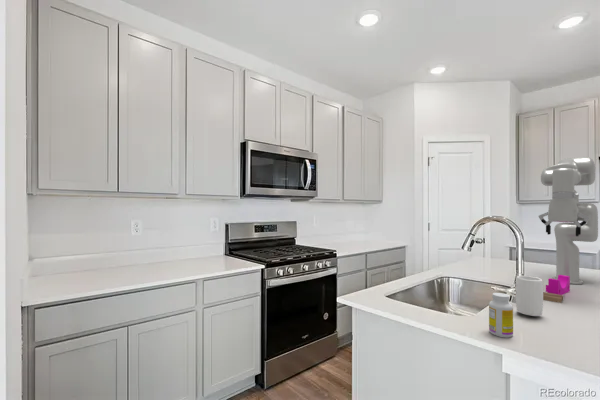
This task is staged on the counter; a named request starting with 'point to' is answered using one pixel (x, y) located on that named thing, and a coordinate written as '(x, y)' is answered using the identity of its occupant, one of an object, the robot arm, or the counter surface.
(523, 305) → the cup
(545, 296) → the plank
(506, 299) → the supplement bottle
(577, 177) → the robot arm
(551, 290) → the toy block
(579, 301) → the counter surface
